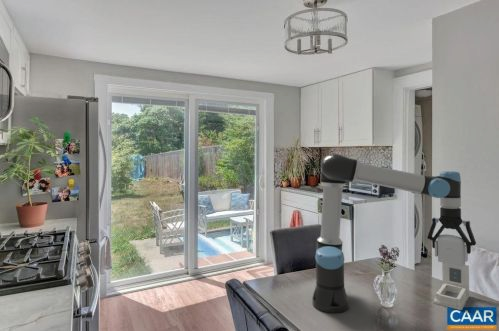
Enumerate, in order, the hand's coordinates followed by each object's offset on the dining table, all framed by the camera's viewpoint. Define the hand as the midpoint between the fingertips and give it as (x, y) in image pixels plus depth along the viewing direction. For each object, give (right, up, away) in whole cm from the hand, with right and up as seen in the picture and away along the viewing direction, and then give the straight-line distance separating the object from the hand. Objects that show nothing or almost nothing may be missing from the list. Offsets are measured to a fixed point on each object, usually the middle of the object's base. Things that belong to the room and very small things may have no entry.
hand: (451, 258), depth 133 cm
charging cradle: (0, -18, 0) cm, 18 cm away
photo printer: (0, -2, 0) cm, 2 cm away
